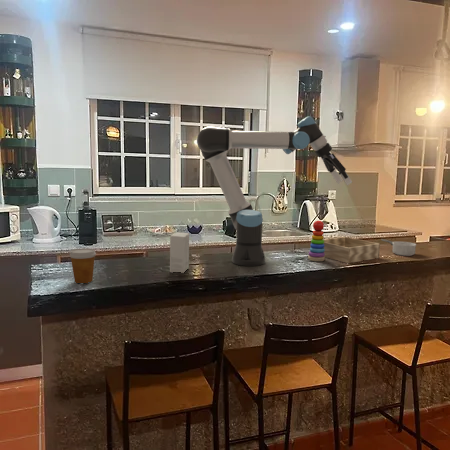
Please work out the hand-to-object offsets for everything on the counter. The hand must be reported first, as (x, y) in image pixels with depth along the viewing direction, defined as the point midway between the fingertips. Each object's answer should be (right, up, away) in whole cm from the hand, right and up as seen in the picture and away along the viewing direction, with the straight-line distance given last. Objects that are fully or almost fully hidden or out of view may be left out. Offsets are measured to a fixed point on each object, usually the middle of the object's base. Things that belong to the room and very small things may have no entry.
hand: (344, 183), depth 211 cm
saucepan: (+31, -35, +15) cm, 49 cm away
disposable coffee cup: (-111, -42, -46) cm, 128 cm away
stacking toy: (-15, -37, -5) cm, 40 cm away
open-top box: (+2, -36, +5) cm, 36 cm away
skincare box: (-77, -40, -28) cm, 91 cm away
